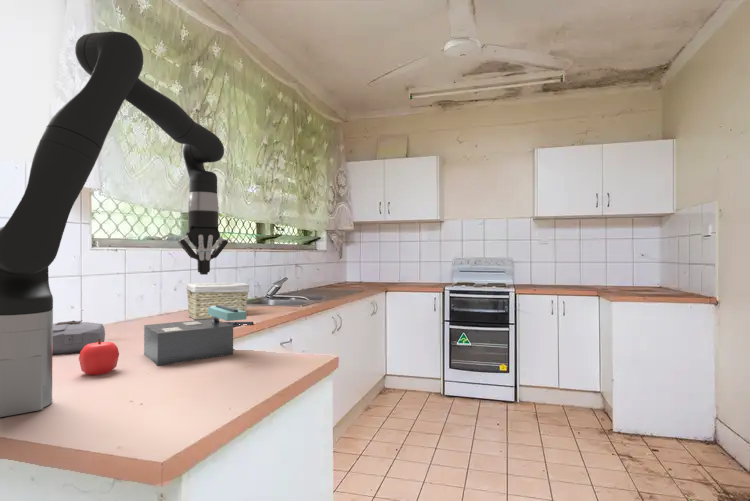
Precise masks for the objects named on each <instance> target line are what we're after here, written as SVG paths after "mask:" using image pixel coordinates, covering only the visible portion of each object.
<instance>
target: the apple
mask: <svg viewBox="0 0 750 501" xmlns="http://www.w3.org/2000/svg"><path fill="white" fill-rule="evenodd" d="M78 356H79V357H78V361H79V365H80V370H81V372H83V373H84V374H86V375H90V376H102V375H105V374H108V373H110V372H112V371H113V370H115V368H117V365H118V361H119V356H120V351H119V347H118V346H117V345H116V344H115V343H114V342H112V341H104V342H101V339H100V338H99V341H98V342H97V343H91V344H88V345H86V346H84V348H83V349H82V350H81V352H79V355H78Z"/></svg>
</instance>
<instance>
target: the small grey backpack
mask: <svg viewBox="0 0 750 501" xmlns="http://www.w3.org/2000/svg"><path fill="white" fill-rule="evenodd" d="M99 338H100V339H101V342H105V338H106V330H105V326H104V324H103V323H98V322H97V323H95V322H90V321H89V322H88V321H83V319H82V320H72V321H71V320H70V321H61V322H57V323H53V353H52V355H60V354H61V355H63V354H72V353H80V352H81V350H82V349H83V348H84V346H86V345H88V344H91V343H97V342H98V341H99Z"/></svg>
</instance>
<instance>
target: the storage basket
mask: <svg viewBox="0 0 750 501" xmlns="http://www.w3.org/2000/svg"><path fill="white" fill-rule="evenodd" d="M185 289H186V294H187V302H188V303H187V306H188V309H187V310H188V311H187V312H188V317H189V318H192V319H193V320H205V319H212V315H209V314H208V307H210V306H216V305H223V306H228V307H231V308H235V309H238V310H242V311H245V312H246V313H247V307H248V303H247V302H248V297H249V296H248V295H249V292H250V284H249V283H245V282H230V281H229V282H198V283H197V282H196V283H194V282H193V283H190V282H188V283H187V284H186V288H185Z"/></svg>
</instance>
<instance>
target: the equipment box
mask: <svg viewBox="0 0 750 501" xmlns="http://www.w3.org/2000/svg"><path fill="white" fill-rule="evenodd" d="M224 322H225V321H221V320H220V318H217V317H214V316H212V319H197V320H196V319H193V320H188V321H187V320H184V321H183V320H182V321H176V322H174V321H173V322H163V323H153V324H144V325H143V331H144V332H143V337H144V338H143V347H144V348H143V354H144V356H146V357H147V358H148V359H149V360H150V361H151V362H152V363H154V365H155V366H157V367H159V366H166V365H172V364H173V365H174V364H178V363H179V364H180V363H186V362H194V361H201V360H206V359H207V360H208V359H213V357H214V358H220V357H221V358H222V357H228V356H233V355H234V327H233V325H230V324H227V323H224Z"/></svg>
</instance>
